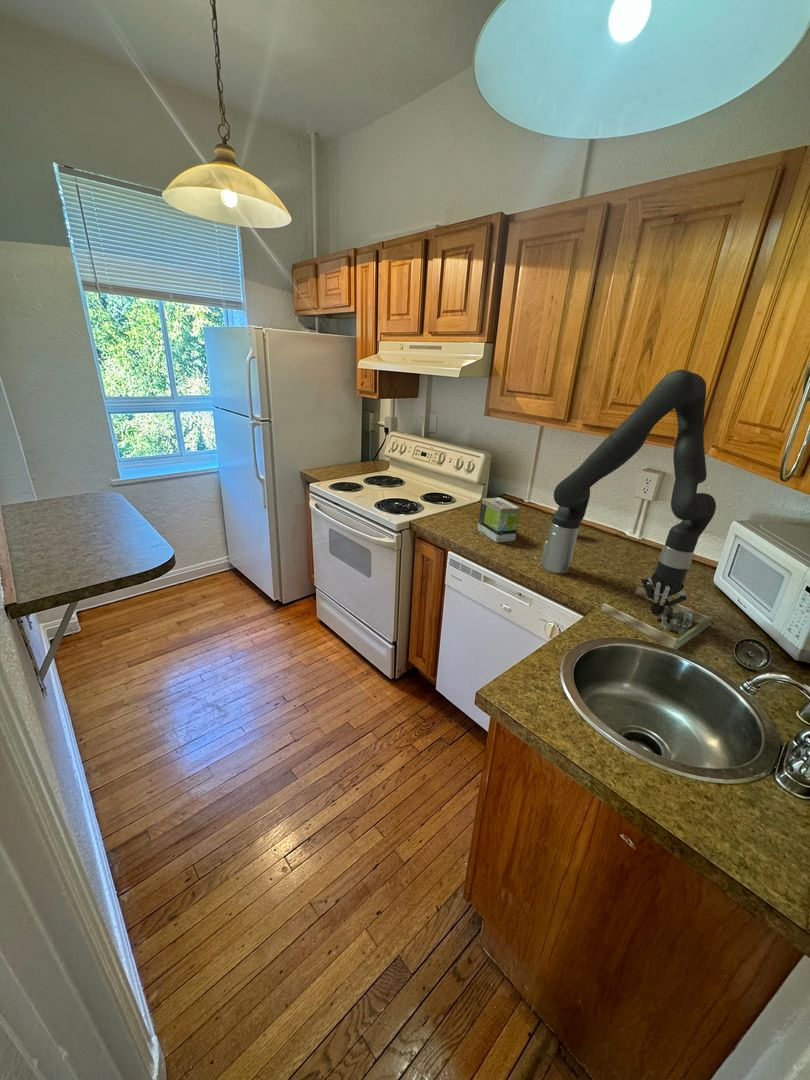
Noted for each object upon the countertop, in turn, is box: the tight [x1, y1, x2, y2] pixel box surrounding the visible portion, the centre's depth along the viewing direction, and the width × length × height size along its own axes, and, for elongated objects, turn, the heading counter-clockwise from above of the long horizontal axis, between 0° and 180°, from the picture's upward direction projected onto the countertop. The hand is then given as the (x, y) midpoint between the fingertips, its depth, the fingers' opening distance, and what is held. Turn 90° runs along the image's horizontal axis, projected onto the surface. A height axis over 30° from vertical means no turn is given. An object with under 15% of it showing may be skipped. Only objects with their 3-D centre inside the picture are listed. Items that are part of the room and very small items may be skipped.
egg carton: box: [660, 606, 693, 636], centre depth 123 cm, size 11×8×4 cm
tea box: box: [477, 497, 522, 543], centre depth 177 cm, size 15×10×15 cm, turn 22°
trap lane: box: [600, 586, 713, 651], centre depth 125 cm, size 22×22×3 cm
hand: (655, 614), depth 125 cm, fingers closed
